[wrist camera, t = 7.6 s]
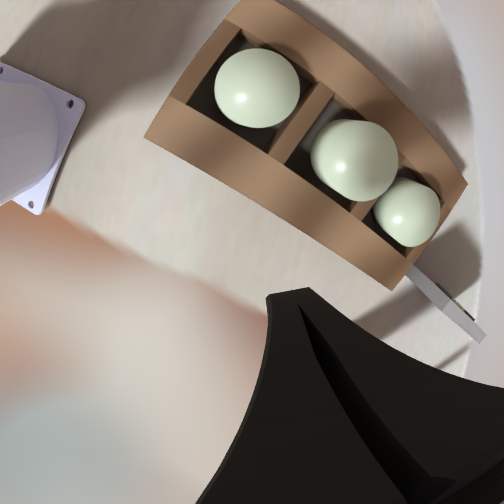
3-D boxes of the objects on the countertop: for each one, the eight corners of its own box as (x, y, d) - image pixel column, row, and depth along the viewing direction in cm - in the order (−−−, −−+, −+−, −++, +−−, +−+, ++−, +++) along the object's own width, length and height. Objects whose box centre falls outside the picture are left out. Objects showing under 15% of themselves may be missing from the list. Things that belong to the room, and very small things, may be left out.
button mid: (296, 162, 15) (310, 171, 13) (337, 104, 14) (357, 104, 12) (349, 201, 17) (368, 216, 15) (386, 148, 16) (410, 155, 13)
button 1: (361, 212, 19) (380, 226, 16) (395, 164, 17) (417, 172, 15) (396, 241, 20) (415, 257, 18) (427, 198, 19) (448, 209, 17)
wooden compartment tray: (150, 134, 16) (143, 137, 14) (247, 0, 13) (252, -13, 11) (379, 277, 22) (391, 291, 20) (451, 177, 19) (468, 183, 17)
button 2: (200, 102, 15) (198, 99, 12) (241, 45, 13) (246, 33, 11) (261, 139, 16) (269, 143, 14) (300, 84, 15) (315, 79, 13)
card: (398, 268, 22) (441, 311, 17) (407, 256, 22) (452, 297, 16) (444, 306, 25) (479, 343, 20) (452, 297, 25) (488, 333, 19)
